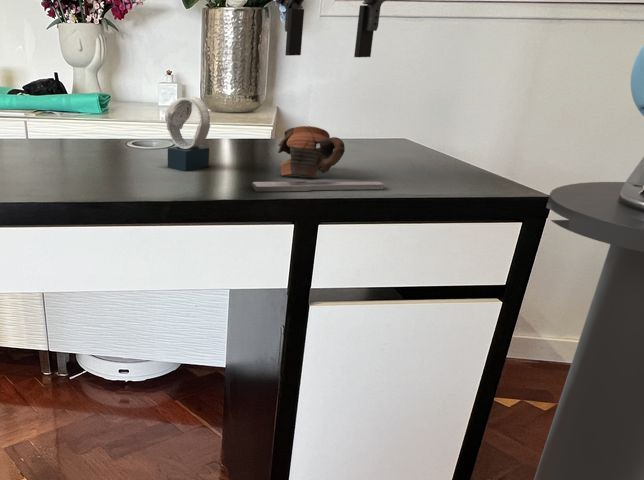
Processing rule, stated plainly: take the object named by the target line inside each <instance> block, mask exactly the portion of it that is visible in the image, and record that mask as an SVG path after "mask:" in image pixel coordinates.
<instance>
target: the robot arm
mask: <svg viewBox="0 0 644 480" xmlns="http://www.w3.org/2000/svg"><path fill="white" fill-rule="evenodd" d="M304 1H305V0H275V3H276V4H277V5H281V6H283V7H284V9H285V15H284V16H285V18H284V32H286V40H285V52H284V53H285V56H286V57H287V56H301V55H302V45H303V31H304V16H305V8H303V5H302V4H303V2H304ZM386 1H387V0H363V1H362V5H359V8H358V9H359V10H358V19H357V28H356V37H355V46H354V54H353V55H354V56H353V57H354V58H371V56H372V48H373V40H374V32H376V31H378V28H379V23H380V15H381V14H380V13H381V7H382V5H383V3H384V2H386ZM630 92H631V97H632V100H633V103H634V105H635V106H636V108H637V110H638V111H639V112H640V114H641V115H642V117H644V44H643V45H642V46H641V48H640V50H639V51H638V53H637V55H636V57H635V60H634V62H633V64H632V68H631V73H630ZM624 182H625V184H624V185H623V188H622V189H621V193H620V196H619V199H618V201H619V202H620V203H621V204H623V205H624V206H626V207H629V208H631V209H634V210H637V211H641V212H644V156H643V157H642V158H641V159H640V161H639V162H638V164H637V165H636V166H635V168H634V169H633V171H632V172H631V173H630V174H629V176H628V178H627V179H626V181H624Z"/></svg>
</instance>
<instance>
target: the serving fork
mask: <svg viewBox="0 0 644 480" xmlns="http://www.w3.org/2000/svg"><path fill="white" fill-rule="evenodd" d="M384 186H385V184H384V183H382V182H381V181H309V182H308V181H253V182H252V188H253V190H254V191H255V192H256V193H266V192H268V193H269V192H270V193H271V192H272V193H273V192H275V193H276V192H278V193H279V192H280V193H281V192H311V191H370V190H371V191H372V190H373V191H375V190H384Z"/></svg>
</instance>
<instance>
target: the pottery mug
mask: <svg viewBox="0 0 644 480" xmlns="http://www.w3.org/2000/svg"><path fill="white" fill-rule="evenodd" d="M283 134H284V138H282V139H281V141H279V143H278V147H279V149H278V151H277V153H278V154H281V153H285V154H287V155H290V159H288V160H285V161H282V162H281V163H280V173H281V174H280V175H281V177H285V176H286V177H287V176H298V177H299V176H300V177H307V178H312V179H316V178H317V176H318V171H319V170H321V172H323V173H328V172H329V171H330V169H331V168H332V167H334V166H335V165H336V164H337V163H339V161H341V159H342V158H343V156H344V153H345V151H346V149H345V148H346V147H345V142H344V141H343V140H342V139H340V137H336V136H333V137H331V135H330V133H329V132H328V131H327V130H325V129H324V128H321V127H317V126H311V125H307V126H306V125H301V126H295V127H290V128H288V129H287V130H285V132H284V133H283ZM317 145H319V147H317Z"/></svg>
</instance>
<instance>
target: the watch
mask: <svg viewBox="0 0 644 480" xmlns="http://www.w3.org/2000/svg"><path fill="white" fill-rule="evenodd" d="M192 106H194V107H195V108H196V110H197V112H198V116H199V121H198V125H197V127H196V130H195V134H194V136H193V138H192V139H191V144H189V143H188V142H186V141H185V139H184V137H183V135H182V133H181V130H182V129H183V127H184V125H185V123H186V122H187V120H189V118H190V116H191V115H192V111H193V107H192ZM164 121H165V122H166V130H167V131H168V133H169V137H170V139H171V140H172V142H173V143H174V144H175V146H173V147H167V168H169V169H175V170H179V171H183V172H187V171H193V170H198V169H204V168H209V165H210V147H208V146H202V145H203V144H204V143H205V141H206V140H207V137H208V135H209V131H210V129H211V124H210V123H211V116H210V112H209V108H208V106H207V104H206V103H205V102H204V100H202V99H201V98H200V97H197V96H190V97H179V98H177V99H175V100H174V101H172V102H171V103H170V105H169V106H168V107H167V109H166V110H165V114H164Z"/></svg>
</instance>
